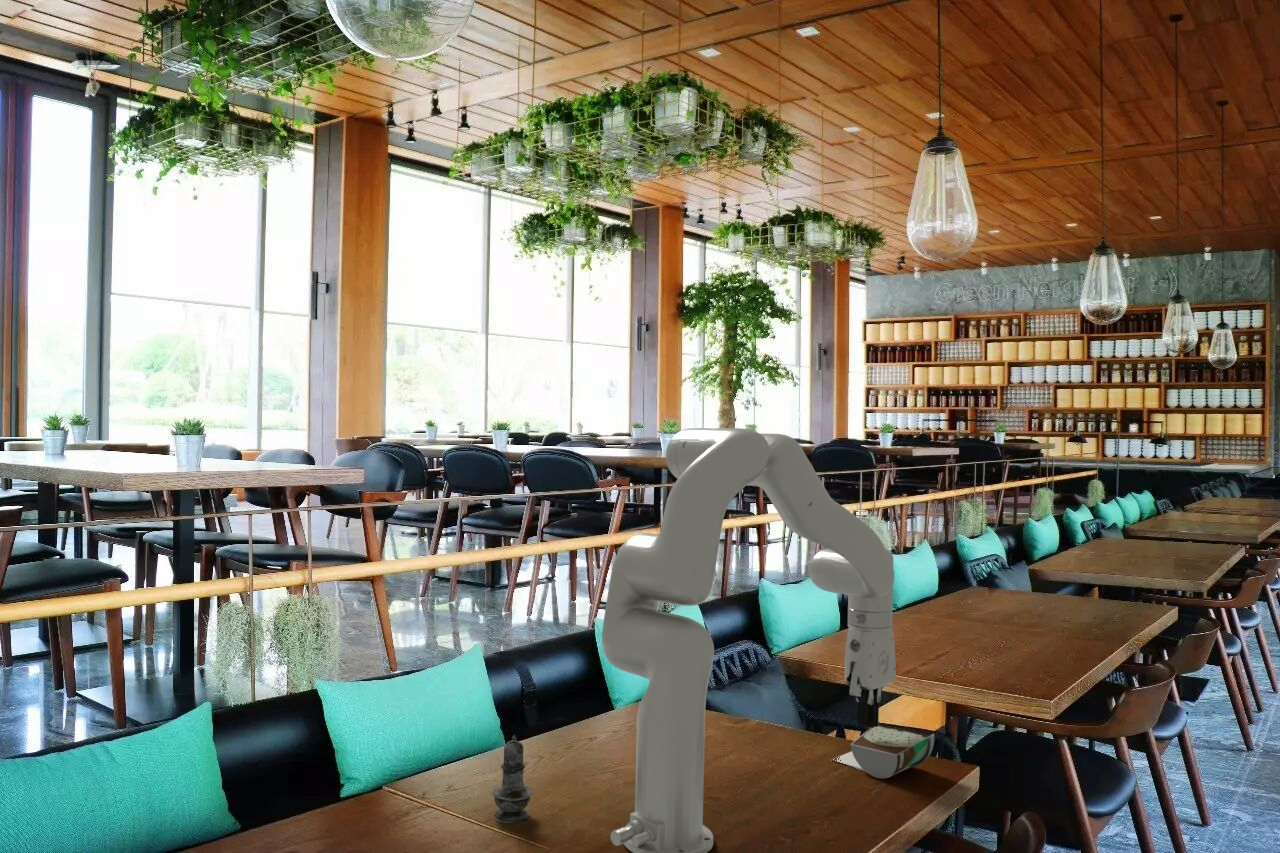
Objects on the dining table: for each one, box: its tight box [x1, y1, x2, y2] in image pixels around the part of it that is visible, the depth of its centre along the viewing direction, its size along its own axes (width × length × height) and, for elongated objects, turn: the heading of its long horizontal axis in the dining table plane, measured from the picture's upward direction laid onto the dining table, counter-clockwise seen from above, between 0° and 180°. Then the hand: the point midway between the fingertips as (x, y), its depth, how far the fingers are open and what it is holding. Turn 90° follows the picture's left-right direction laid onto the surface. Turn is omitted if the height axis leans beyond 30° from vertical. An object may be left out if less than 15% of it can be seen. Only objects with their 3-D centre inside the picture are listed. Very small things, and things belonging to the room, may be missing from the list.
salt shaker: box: [492, 734, 533, 824], centre depth 139 cm, size 6×6×12 cm
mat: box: [832, 750, 910, 779], centre depth 166 cm, size 10×11×1 cm
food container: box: [849, 721, 935, 780], centre depth 162 cm, size 12×6×10 cm
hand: (867, 724), depth 163 cm, fingers closed
